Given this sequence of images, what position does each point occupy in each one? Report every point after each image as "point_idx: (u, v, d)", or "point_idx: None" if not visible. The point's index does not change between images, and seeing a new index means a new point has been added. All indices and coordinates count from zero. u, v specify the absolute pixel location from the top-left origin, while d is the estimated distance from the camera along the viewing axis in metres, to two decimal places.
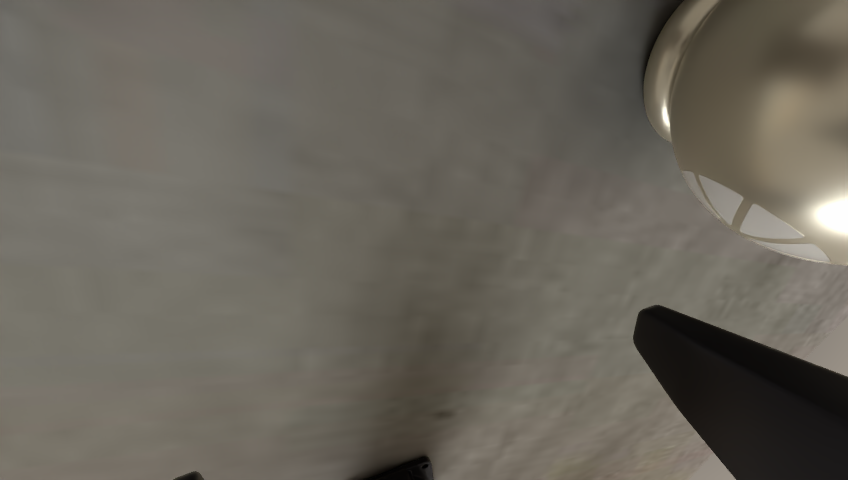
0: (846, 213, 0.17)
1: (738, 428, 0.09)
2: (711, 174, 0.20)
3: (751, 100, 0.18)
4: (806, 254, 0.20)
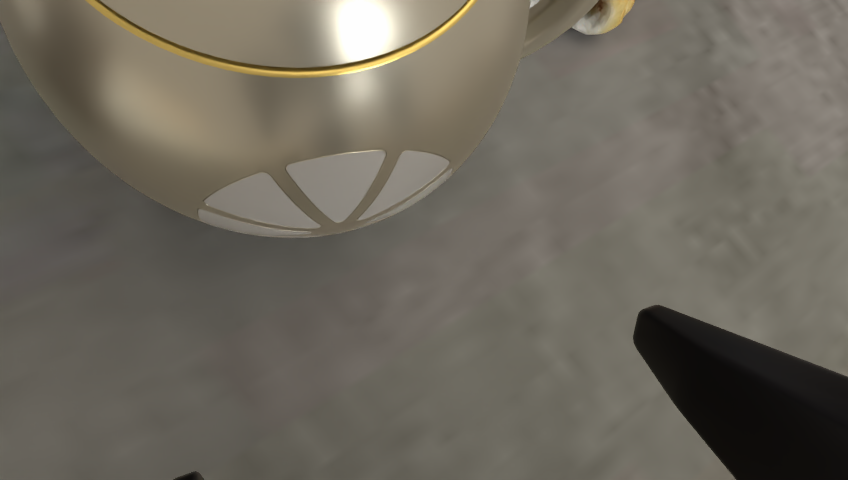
0: (183, 108, 0.09)
1: (738, 428, 0.09)
2: (194, 218, 0.13)
3: (70, 132, 0.12)
4: (344, 176, 0.11)
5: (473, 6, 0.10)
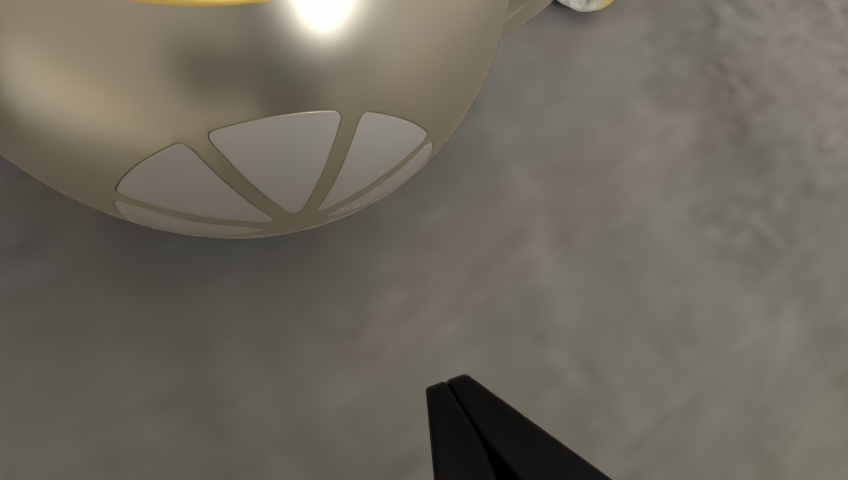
0: (58, 55, 0.07)
1: None
2: (120, 217, 0.11)
3: None
4: (288, 148, 0.09)
5: None
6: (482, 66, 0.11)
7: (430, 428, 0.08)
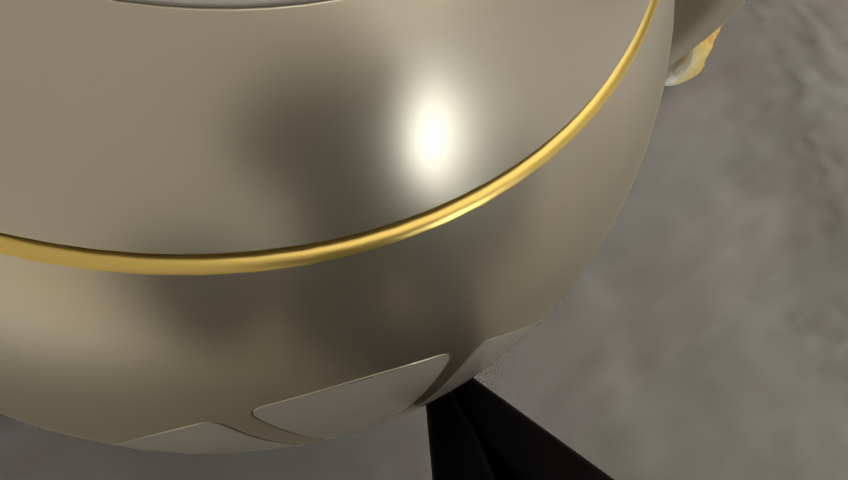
0: (3, 341, 0.04)
1: None
2: None
3: None
4: (369, 402, 0.06)
5: (624, 74, 0.05)
6: None
7: (429, 428, 0.08)
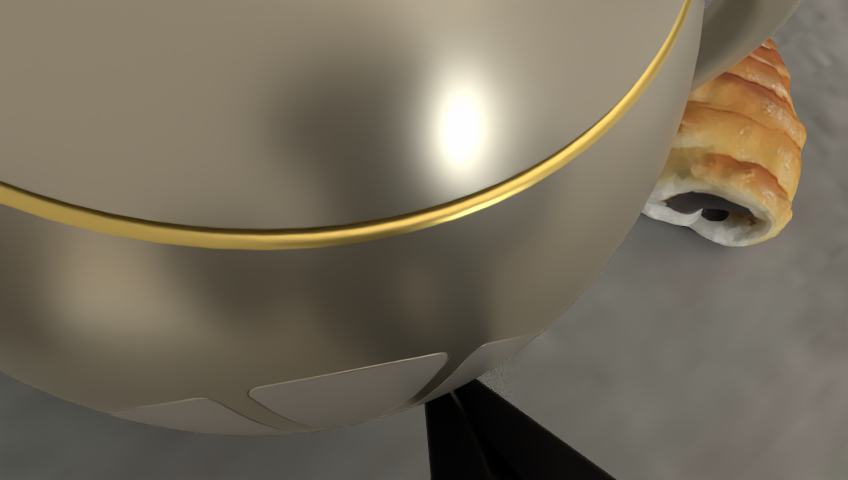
0: (16, 297, 0.04)
1: None
2: None
3: None
4: (364, 394, 0.06)
5: (647, 88, 0.05)
6: None
7: (427, 429, 0.08)
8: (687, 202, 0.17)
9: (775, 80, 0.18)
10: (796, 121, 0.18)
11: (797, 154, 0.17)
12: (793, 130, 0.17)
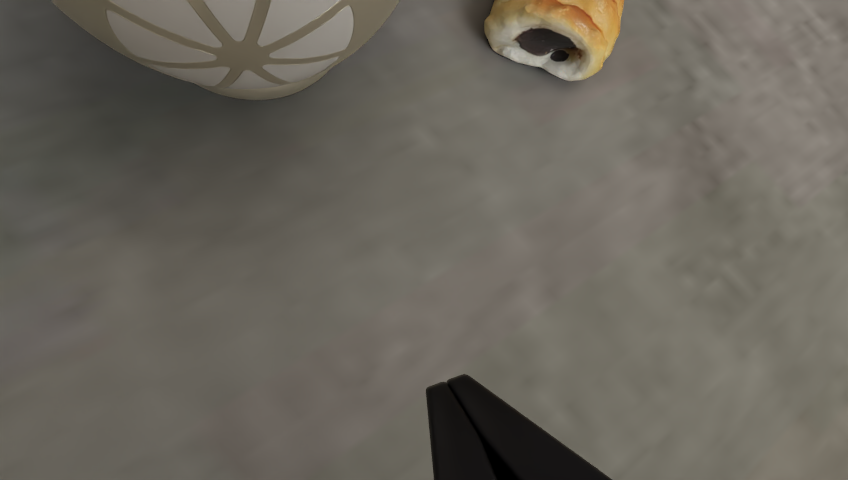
0: None
1: None
2: (111, 37, 0.14)
3: None
4: None
5: None
6: None
7: (430, 428, 0.08)
8: (532, 39, 0.24)
9: None
10: None
11: (612, 5, 0.24)
12: None
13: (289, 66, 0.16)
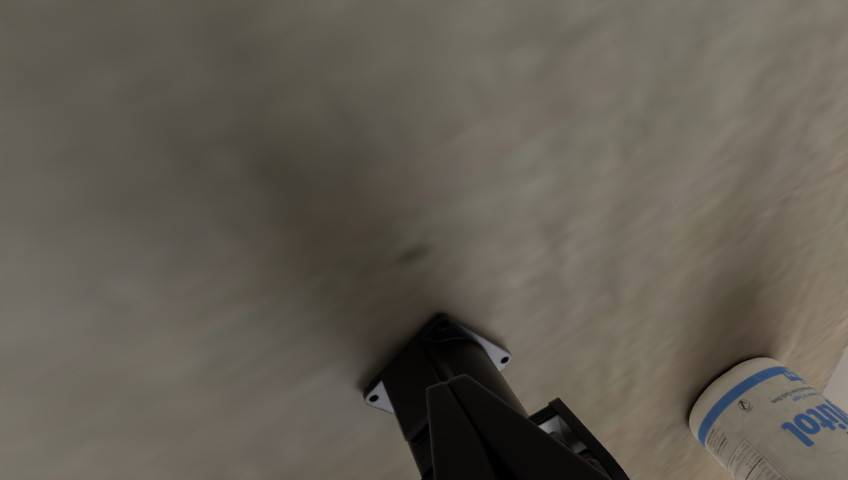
0: None
1: None
2: None
3: None
4: None
5: None
6: None
7: (430, 428, 0.08)
8: None
9: None
10: None
11: None
12: None
13: None
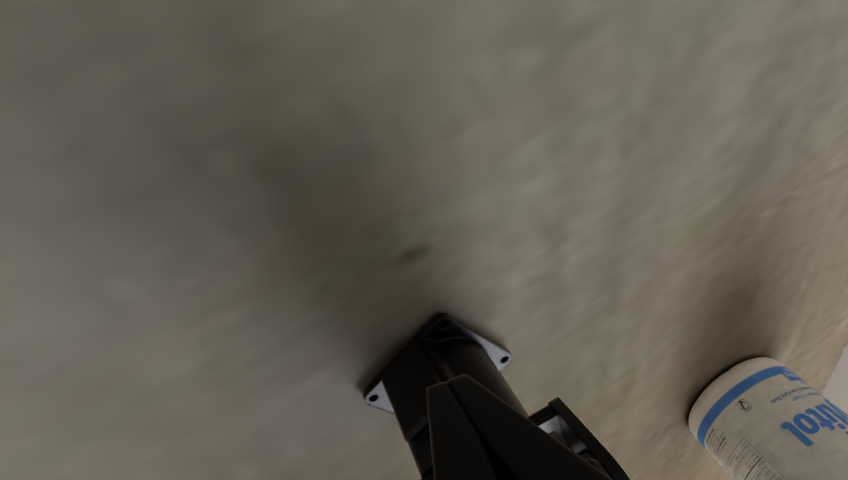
0: None
1: None
2: None
3: None
4: None
5: None
6: None
7: (430, 428, 0.08)
8: None
9: None
10: None
11: None
12: None
13: None
